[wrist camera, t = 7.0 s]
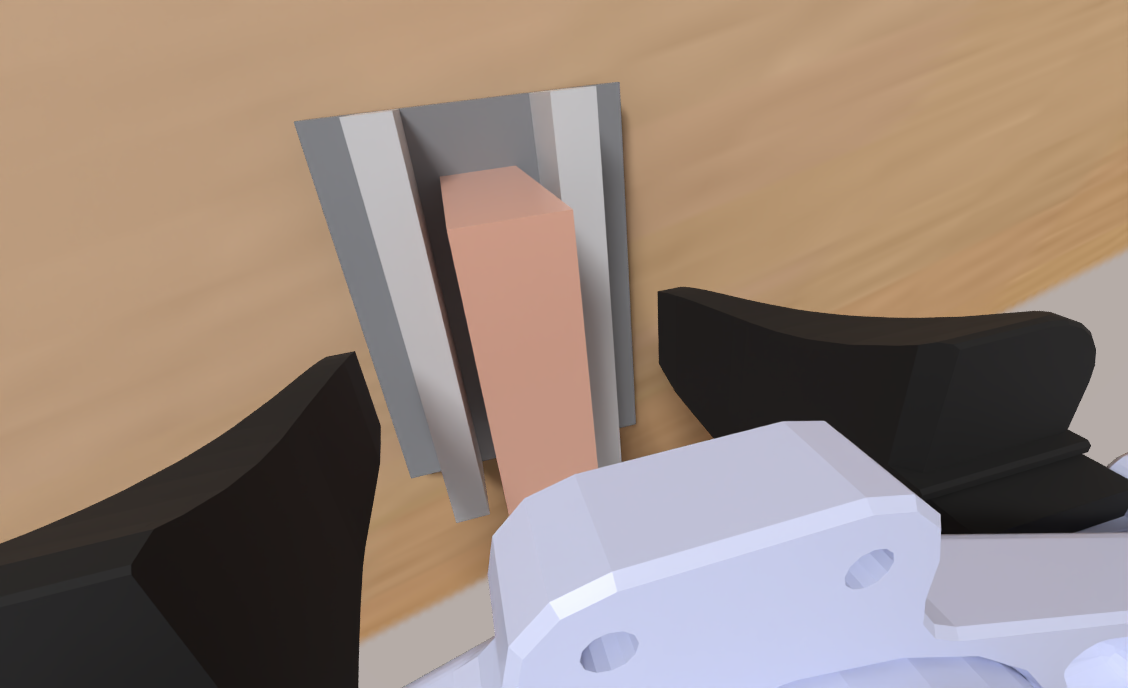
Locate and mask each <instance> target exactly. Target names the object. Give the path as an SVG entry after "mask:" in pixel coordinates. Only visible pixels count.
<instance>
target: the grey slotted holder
mask: <svg viewBox="0 0 1128 688" xmlns="http://www.w3.org/2000/svg"><path fill="white" fill-rule="evenodd" d="M294 124H295V127H296V130H297V133H298V137H299V140H300V143H301V146H302V149H303V152H304V155H305V158H306V161H307V164H308V167H309V170H310V173H311V176H312V179H313V182H314V185H315V188H316V191H317V194H318V197H319V200H320V203H321V206H322V209H323V212H324V215H325V218H326V221H327V224H328V228H329V231H330V234H331V237H332V240H333V243H334V246H335V249H336V252H337V255H338V258H339V261H340V264H341V267H342V270H343V273H344V276H345V279H346V282H347V285H348V288H349V291H350V294H351V297H352V300H353V303H354V306H355V309H356V312H357V315H358V319H359V322H360V325H361V328H362V331H363V334H364V337H365V340H366V343H367V346H368V349H369V352H370V355H371V358H372V361H373V364H374V367H375V370H376V373H377V376H378V379H379V382H380V385H381V388H382V391H383V394H384V397H385V400H386V403H387V407H388V410H389V413H390V416H391V419H392V422H393V425H394V428H395V431H396V434H397V437H398V440H399V443H400V446H401V449H402V452H403V455H404V458H405V461H406V464H407V467H408V470H409V473H410V476H411V478H415V477H419V476H423V475H427V474H431V473H435V472H440V471H442V474H443V478H444V481H445V485H446V488H447V492H448V495H449V499H450V502H451V506H452V509H453V512H454V516H455V519H456V523H458V522H462V521H466V520H470V519H474V518H478V517H481V516H485V515H489V514H490V511H489V504H488V497H487V491H486V484H485V477H484V470H483V463H482V461H485V460H489V459H493V458H496V453H495V449H494V444H493V440H492V435H491V430H490V426H489V421H488V417H487V412H486V408H485V403H484V398H483V394H482V389H481V385H480V380H479V376H478V371H477V366H476V362H475V357H474V353H473V348H472V343H471V339H470V334H469V330H468V325H467V321H466V316H465V311H464V307H463V302H462V298H461V293H460V289H459V284H458V279H457V275H456V270H455V266H454V261H453V256H452V252H451V247H450V243H449V238H448V234H447V228H446V221H445V213H444V206H443V199H442V191H441V184H440V176H447V175H454V174H461V173H468V172H475V171H482V170H488V169H495V168H502V167H509V166H517V167H518V168H520V169H521V170H522V171H523V172H525V173H526V174H527V175H529V176H530V177H531V178H533V179H534V180H535V181H537V182H538V183H539V184H540V185H542V186H543V187H544V188H546V189H547V190H548V191H550V192H551V193H552V194H554V195H555V196H556V197H558V198H559V199H560V200H561V201H563V202H564V203H565V204H567V205H568V206H569V207H571V208H572V209H573V215H574V225H575V235H576V246H577V256H578V266H579V277H580V287H581V297H582V308H583V318H584V328H585V339H586V349H587V359H588V370H589V380H590V390H591V401H592V411H593V421H594V432H595V442H596V452H597V463H598V468H601V467H605V466H609V465H613V464H617V463H621V462H622V461H621V447H620V432H619V428H621V427H625V426H629V425H634V424H636V417H635V396H634V375H633V354H632V334H631V313H630V292H629V271H628V250H627V229H626V208H625V187H624V166H623V145H622V125H621V104H620V83H619V82H613V83H604V84H596V85H587V86H579V87H571V88H563V89H554V90H546V91H538V92H530V93H522V94H513V95H505V96H497V97H489V98H481V99H472V100H464V101H456V102H448V103H440V104H431V105H423V106H415V107H407V108H399V109H390V110H382V111H374V112H366V113H357V114H349V115H341V116H333V117H325V118H316V119H308V120H301V121H295V122H294Z"/></svg>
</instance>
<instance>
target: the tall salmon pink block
mask: <svg viewBox="0 0 1128 688" xmlns="http://www.w3.org/2000/svg"><path fill="white" fill-rule="evenodd" d="M440 184H441V191H442V199H443V206H444V213H445V221H446V228H447V234H448V238H449V243H450V247H451V252H452V256H453V261H454V266H455V270H456V275H457V279H458V284H459V289H460V293H461V298H462V302H463V307H464V311H465V316H466V321H467V325H468V330H469V334H470V339H471V343H472V348H473V353H474V357H475V362H476V366H477V371H478V376H479V380H480V385H481V389H482V394H483V398H484V403H485V408H486V412H487V417H488V421H489V426H490V430H491V435H492V440H493V444H494V449H495V453H496V458H497V463H498V467H499V472H500V476H501V481H502V485H503V490H504V495H505V499H506V504H507V508H508V513H509V516H510V515H511V514H512V512H513V511H514V510H515V509H516V508H517V506H518V505H519V504H520V503H521V502H522V501H523V499H524V498H526V497H528V496H530V495H532V494H534V493H536V492H539V491H541V490H543V489H545V488H547V487H549V486H551V485H553V484H555V483H557V482H559V481H562V480H564V479H566V478H568V477H570V476H572V475H574V474H578V473H582V472H586V471H590V470H593V469H597V468H598V463H597V452H596V442H595V432H594V421H593V411H592V401H591V390H590V380H589V370H588V359H587V349H586V339H585V328H584V318H583V308H582V297H581V287H580V277H579V266H578V256H577V246H576V235H575V225H574V215H573V209H572V208H571V207H569V206H568V205H567V204H565V203H564V202H563V201H561V200H560V199H559V198H558V197H556V196H555V195H554V194H552V193H551V192H550V191H548V190H547V189H546V188H544V187H543V186H542V185H540V184H539V183H538V182H537V181H535V180H534V179H533V178H531V177H530V176H529V175H527V174H526V173H525V172H523V171H522V170H521V169H520V168H518V167H517V166H509V167H502V168H495V169H488V170H482V171H475V172H468V173H461V174H454V175H447V176H440Z"/></svg>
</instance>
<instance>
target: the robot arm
mask: <svg viewBox="0 0 1128 688" xmlns="http://www.w3.org/2000/svg"><path fill="white" fill-rule="evenodd" d="M658 336H659V364H660V366H661V368H662V370H663V372H664V373H665V375H666V377H667V379H668V380H669V382H670V384H671V385H672V387H673V388H674V390H675V392H676V393H677V394H678V396H679V397H680V398H681V399H682V401H683V402H684V403H685V404H686V406H687V407H688V408H689V409H690V410H691V412H692V413H693V414H694V415H695V416H696V418H697V419H698V420H699V421H700V422H701V424H702V425H703V426H704V427H705V428H706V430H707V431H708V432H709V433H710V434H711V436H712V437H713V438H714V439H711V440H707V441H704V442H700V443H696V444H692V445H688V446H684V447H680V448H676V449H672V450H668V451H664V452H660V453H656V454H652V455H649V456H645V457H641V458H637V459H633V460H629V461H625V462H621V463H617V464H613V465H609V466H605V467H601V468H597V469H593V470H590V471H586V472H582V473H578V474H574V475H572V476H570V477H568V478H566V479H564V480H562V481H559V482H557V483H555V484H553V485H551V486H549V487H547V488H545V489H543V490H541V491H539V492H536V493H534V494H532V495H530V496H528V497H526V498H524V499H523V501H522V502H521V503H520V504H519V505H518V506H517V508H516V509H515V510H514V511H513V512H512V514H511V515H510V516H509V517H508V518H507V519H506V521H505V522H504V523H503V524H502V525H501V527H500V528H499V529H498V530H497V531H496V532H495V534H494V535H493V536H492V544H491V552H490V560H489V569H488V581H489V589H490V597H491V605H492V613H493V621H494V629H495V636H493V637H492V638H490V639H488V640H486V641H484V642H483V643H481V644H479V645H477V646H475V647H474V648H472V649H470V650H468V651H466V652H465V653H463V654H461V655H459V656H458V657H456V658H454V659H452V660H450V661H449V662H447V663H445V664H443V665H442V666H440V667H438V668H436V669H434V670H433V671H431V672H429V673H427V674H426V675H424V676H422V677H420V678H418V679H417V680H415V681H413V682H411V683H410V684H408V685H406V686H404V687H402V688H1128V453H1125V454H1123V455H1121V456H1119V457H1117V458H1116V459H1115V460H1113V461H1112V462H1111V463H1110V464H1109V465H1108V466H1107V467H1105V466H1103V465H1102V464H1100V463H1098V462H1096V461H1094V460H1092V459H1090V458H1089V457H1087V456H1085V455H1083V453H1086V452H1088V451H1089V449H1090V447H1091V445H1090V443H1089V441H1088V440H1087V439H1085V438H1083V437H1081V436H1079V435H1077V434H1075V433H1073V432H1071V431H1070V430H1068V427H1069V425H1070V423H1071V421H1072V418H1073V416H1074V414H1075V412H1076V410H1077V407H1078V405H1079V403H1080V401H1081V399H1082V396H1083V394H1084V392H1085V390H1086V388H1087V385H1088V383H1089V381H1090V378H1091V375H1092V372H1093V369H1094V366H1095V356H1096V348H1095V345H1094V341H1093V338H1092V335H1091V332H1090V331H1089V330H1088V329H1087V328H1086V327H1085V326H1084V325H1083V324H1082V323H1080V322H1077V321H1074V320H1071V319H1068V318H1066V317H1063V316H1060V315H1057V314H1054V313H1052V312H1044V311H1028V312H1016V313H1003V314H991V315H978V316H965V317H935V318H887V317H863V316H848V315H837V314H828V313H819V312H811V311H804V310H797V309H791V308H786V307H780V306H775V305H770V304H765V303H760V302H755V301H751V300H746V299H742V298H738V297H733V296H729V295H725V294H720V293H716V292H712V291H707V290H702V289H697V288H690V287H678V288H673V289H668V290H663V291H658ZM380 447H381V425H380V423H379V420H378V417H377V414H376V411H375V408H374V405H373V402H372V399H371V396H370V394H369V391H368V388H367V385H366V382H365V379H364V376H363V373H362V370H361V367H360V365H359V362H358V359H357V356H356V353H355V351H354V352H349V353H344V354H339V355H334V356H329V357H325V358H324V359H322V360H320V361H319V362H317V363H316V364H314V365H313V366H312V367H310V368H309V369H308V370H307V371H305V372H304V373H303V374H302V375H300V376H299V377H298V378H297V379H295V380H294V381H293V382H292V383H290V384H289V385H288V386H287V387H285V388H284V389H283V390H282V391H280V392H279V393H278V394H277V395H276V396H274V397H273V398H272V399H271V400H269V401H268V402H267V403H265V404H264V405H262V406H261V407H260V408H258V409H257V410H256V411H254V412H253V413H252V414H250V415H249V416H248V417H246V418H245V419H244V420H242V421H241V422H240V423H238V424H237V425H236V426H234V427H233V428H231V429H230V430H228V431H227V432H225V433H224V434H222V435H221V436H219V437H218V438H216V439H215V440H213V441H212V442H210V443H208V444H207V445H205V446H203V447H202V448H200V449H199V450H197V451H195V452H194V453H192V454H190V455H189V456H187V457H185V458H184V459H182V460H180V461H178V462H177V463H175V464H173V465H171V466H169V467H167V468H165V469H163V470H162V471H160V472H158V473H156V474H154V475H152V476H150V477H148V478H146V479H144V480H143V481H141V482H139V483H137V484H135V485H133V486H131V487H129V488H127V489H126V490H124V491H121V492H119V493H117V494H115V495H113V496H111V497H109V498H107V499H105V500H102V501H100V502H98V503H96V504H94V505H92V506H90V507H87V508H85V509H83V510H81V511H78V512H76V513H74V514H72V515H69V516H67V517H65V518H62V519H60V520H58V521H56V522H53V523H51V524H49V525H46V526H44V527H41V528H39V529H37V530H34V531H32V532H29V533H27V534H24V535H22V536H19V537H17V538H14V539H11V540H9V541H6V542H4V543H1V544H0V688H358V670H359V666H358V665H359V634H360V607H361V590H362V572H363V561H364V553H365V546H366V540H367V534H368V529H369V523H370V518H371V512H372V506H373V501H374V495H375V490H376V484H377V478H378V472H379V466H380Z"/></svg>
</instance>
